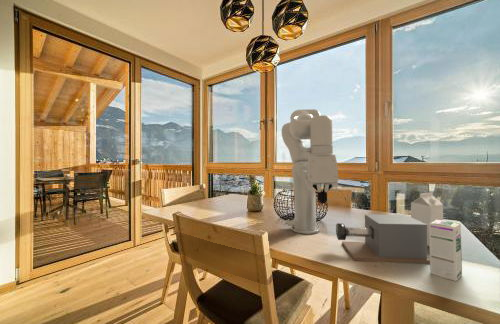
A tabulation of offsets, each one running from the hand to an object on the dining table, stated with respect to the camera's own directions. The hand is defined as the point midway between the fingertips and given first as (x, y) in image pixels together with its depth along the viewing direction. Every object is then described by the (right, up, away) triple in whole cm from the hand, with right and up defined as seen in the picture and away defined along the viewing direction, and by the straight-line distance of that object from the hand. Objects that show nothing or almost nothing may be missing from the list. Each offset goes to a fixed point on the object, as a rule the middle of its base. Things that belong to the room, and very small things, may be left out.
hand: (322, 202), depth 79 cm
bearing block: (+20, -17, -2) cm, 26 cm away
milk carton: (+42, -17, +6) cm, 46 cm away
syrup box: (+29, -17, -16) cm, 38 cm away
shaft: (+15, -13, -1) cm, 19 cm away
